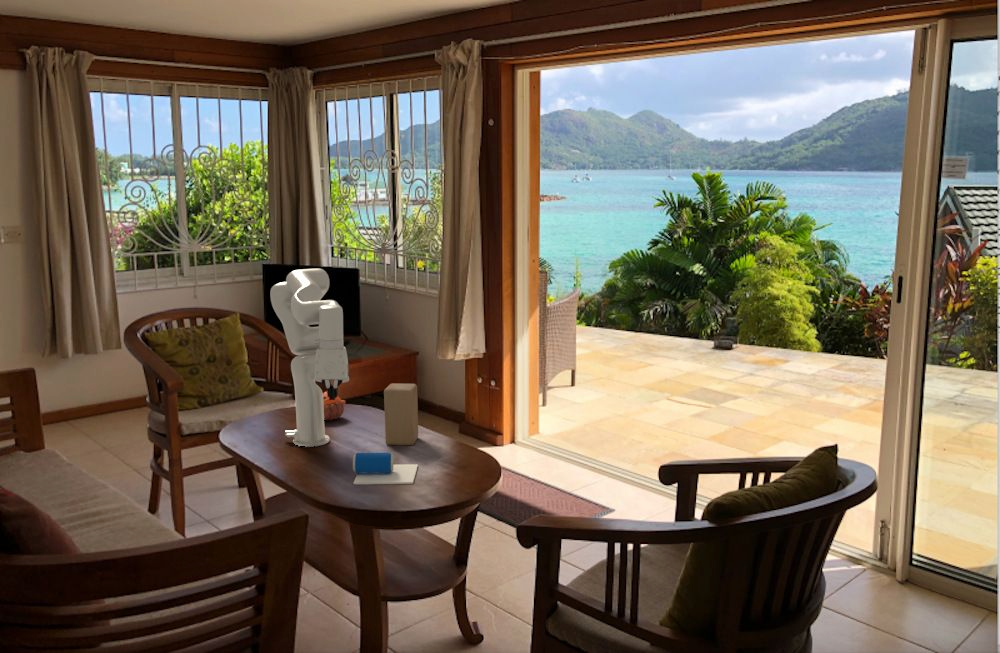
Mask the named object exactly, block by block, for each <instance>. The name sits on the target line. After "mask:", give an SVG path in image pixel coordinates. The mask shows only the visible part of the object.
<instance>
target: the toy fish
mask: <svg viewBox="0 0 1000 653" xmlns="http://www.w3.org/2000/svg"><path fill="white" fill-rule="evenodd" d="M323 402H324V420H326V421H334V420H333V419H335V420H337V419H338V418H341V417H342V415H343V414H344V412H345V406H346V405H345V404H346V400H344V399H343V400H342V399H341V398H340V396H337V397H336V398H335V400H329V397H328V394H327V390H326V391H324V392H323Z"/></svg>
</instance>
